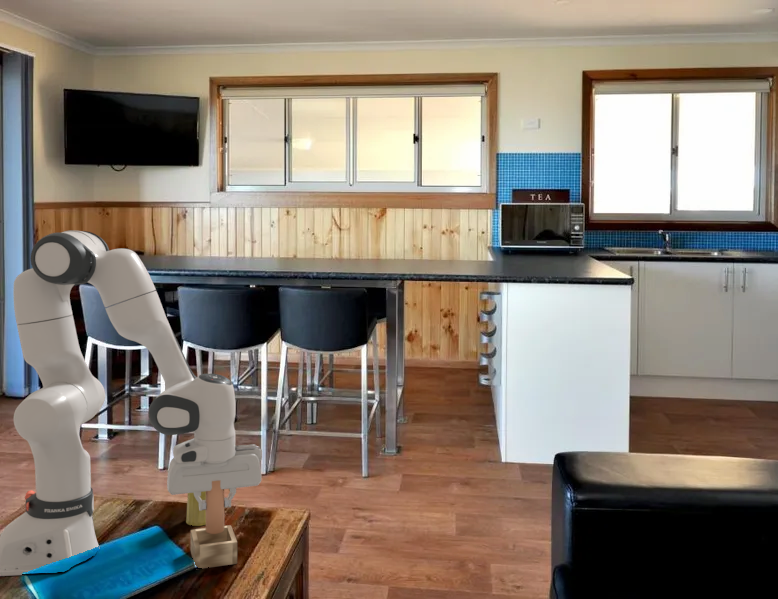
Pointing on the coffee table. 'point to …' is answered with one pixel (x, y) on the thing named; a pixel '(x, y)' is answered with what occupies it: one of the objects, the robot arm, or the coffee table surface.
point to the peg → (215, 509)
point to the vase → (195, 510)
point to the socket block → (213, 548)
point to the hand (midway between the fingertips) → (214, 507)
